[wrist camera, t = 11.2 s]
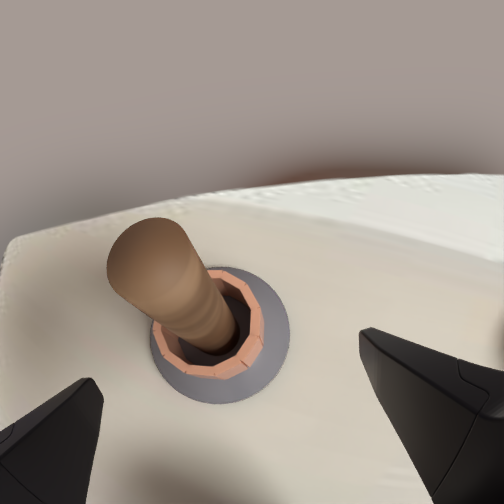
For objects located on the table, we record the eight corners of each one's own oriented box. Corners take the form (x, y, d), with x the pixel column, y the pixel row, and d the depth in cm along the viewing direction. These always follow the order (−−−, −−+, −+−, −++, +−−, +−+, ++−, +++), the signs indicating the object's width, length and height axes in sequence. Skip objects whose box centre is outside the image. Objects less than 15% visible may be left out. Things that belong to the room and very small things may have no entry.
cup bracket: (239, 430, 19) (228, 438, 15) (132, 351, 23) (103, 339, 19) (315, 311, 23) (321, 291, 19) (204, 251, 26) (190, 223, 22)
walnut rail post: (242, 353, 21) (189, 296, 10) (194, 357, 21) (102, 304, 10) (238, 307, 22) (190, 210, 12) (193, 312, 23) (113, 225, 12)
